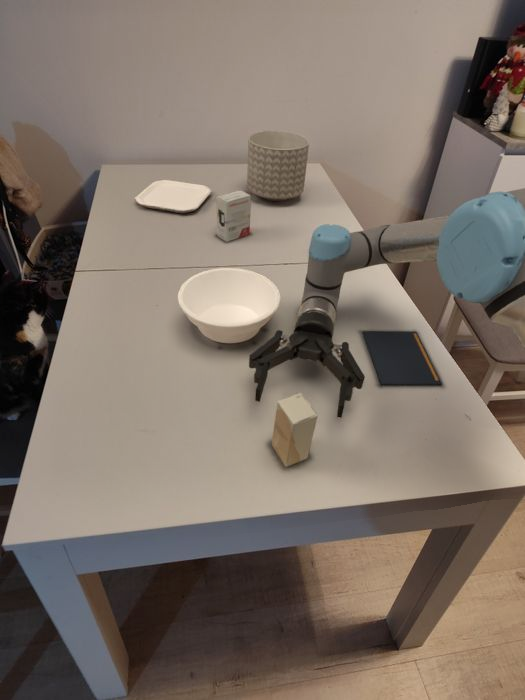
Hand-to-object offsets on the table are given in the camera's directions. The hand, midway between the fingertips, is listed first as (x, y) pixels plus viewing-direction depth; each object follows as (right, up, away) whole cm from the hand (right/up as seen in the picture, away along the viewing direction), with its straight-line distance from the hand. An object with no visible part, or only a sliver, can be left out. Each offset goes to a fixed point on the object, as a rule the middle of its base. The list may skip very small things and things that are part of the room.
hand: (298, 403), depth 72 cm
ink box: (-14, +42, +56) cm, 71 cm away
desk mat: (+22, +7, +20) cm, 31 cm away
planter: (-2, +61, +79) cm, 100 cm away
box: (-1, -8, +1) cm, 8 cm away
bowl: (-13, +14, +25) cm, 31 cm away
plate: (-34, +57, +72) cm, 98 cm away
